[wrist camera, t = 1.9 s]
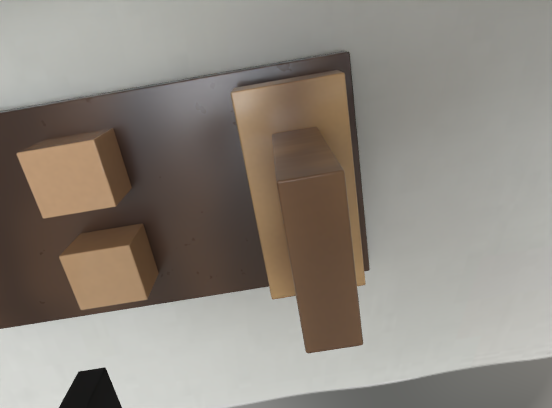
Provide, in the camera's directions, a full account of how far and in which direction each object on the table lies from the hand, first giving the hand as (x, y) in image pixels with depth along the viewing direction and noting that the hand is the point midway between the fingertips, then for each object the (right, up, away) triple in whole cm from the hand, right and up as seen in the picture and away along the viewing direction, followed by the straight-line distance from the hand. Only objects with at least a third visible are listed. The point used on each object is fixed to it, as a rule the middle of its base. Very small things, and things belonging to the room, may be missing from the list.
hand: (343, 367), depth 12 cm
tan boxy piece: (-14, +7, +15) cm, 21 cm away
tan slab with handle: (0, +6, +15) cm, 17 cm away
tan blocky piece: (-13, +1, +17) cm, 21 cm away
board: (-10, +5, +17) cm, 21 cm away
